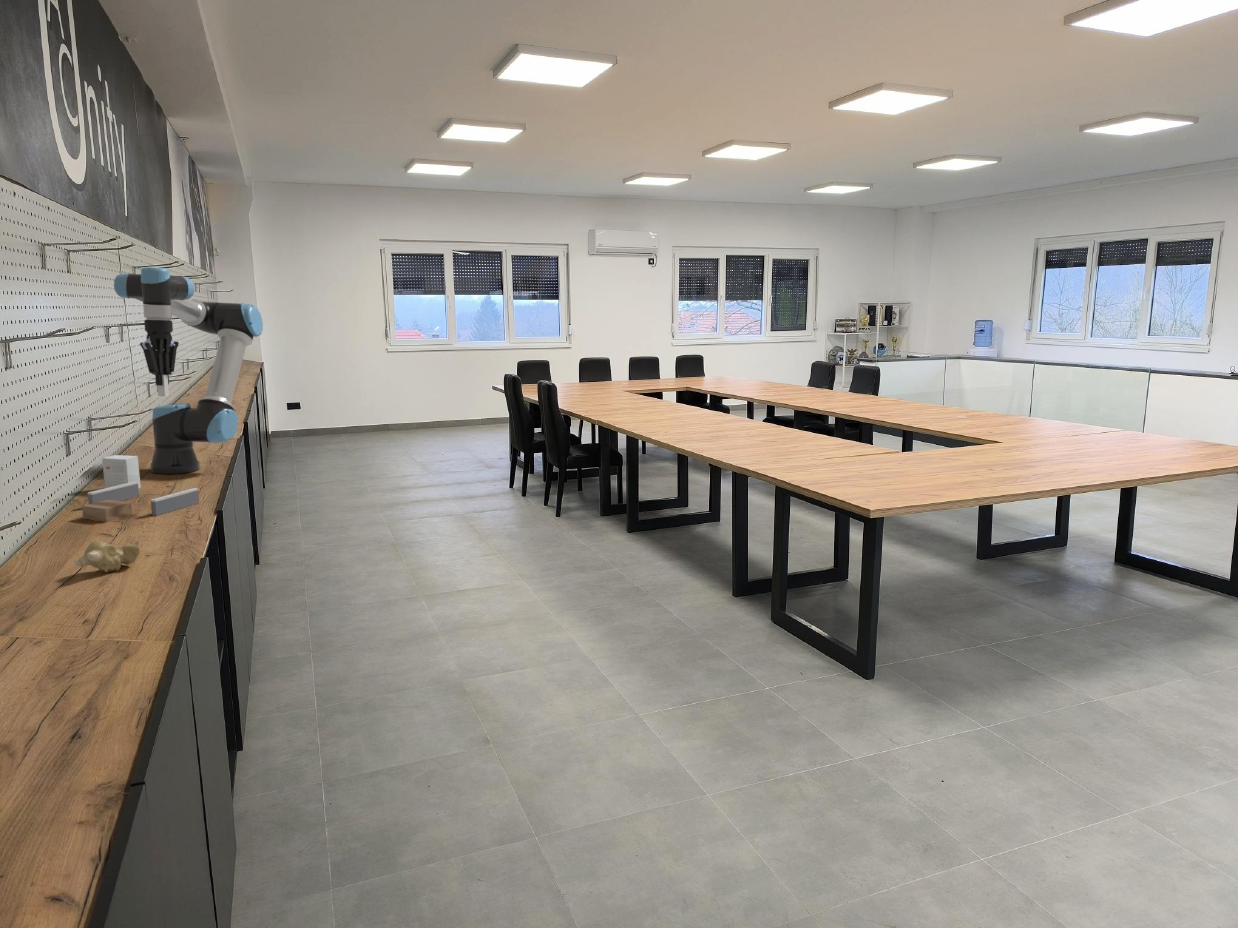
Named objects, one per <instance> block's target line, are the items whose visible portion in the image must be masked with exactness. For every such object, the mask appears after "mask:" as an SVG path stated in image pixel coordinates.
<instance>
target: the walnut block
mask: <svg viewBox="0 0 1238 928" xmlns="http://www.w3.org/2000/svg"><path fill="white" fill-rule="evenodd" d="M81 508H82V519H83V518H84V519H83V520H85V519H91V520H90V521H92V520H94V522H99V521H102V522H101V523H106V522H107V523H109V521H110V522H113V520H114V521H116V520H115V519H118V520H121V519H124V517H125V518H128V517H127V516H129V517H131V516H133V512H132V502H129V501H128V502H127V501H115V500H105V501H101V502H96V503H92V504H89V503H88V504H85V505H82V506H81ZM120 518H121V519H120Z"/></svg>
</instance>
